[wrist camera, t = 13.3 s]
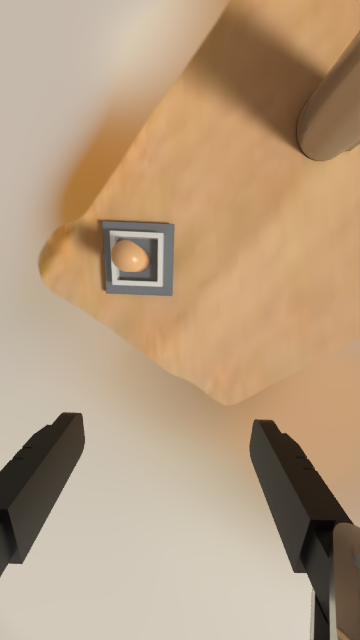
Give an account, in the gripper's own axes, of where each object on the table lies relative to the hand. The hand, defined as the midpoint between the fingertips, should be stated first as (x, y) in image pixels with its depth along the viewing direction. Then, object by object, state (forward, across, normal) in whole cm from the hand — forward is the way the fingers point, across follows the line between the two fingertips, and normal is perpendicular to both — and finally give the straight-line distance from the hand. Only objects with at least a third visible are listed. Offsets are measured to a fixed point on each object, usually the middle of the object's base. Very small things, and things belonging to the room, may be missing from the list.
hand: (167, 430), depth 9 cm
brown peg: (+27, +7, -9) cm, 29 cm away
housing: (+28, +7, -9) cm, 30 cm away
